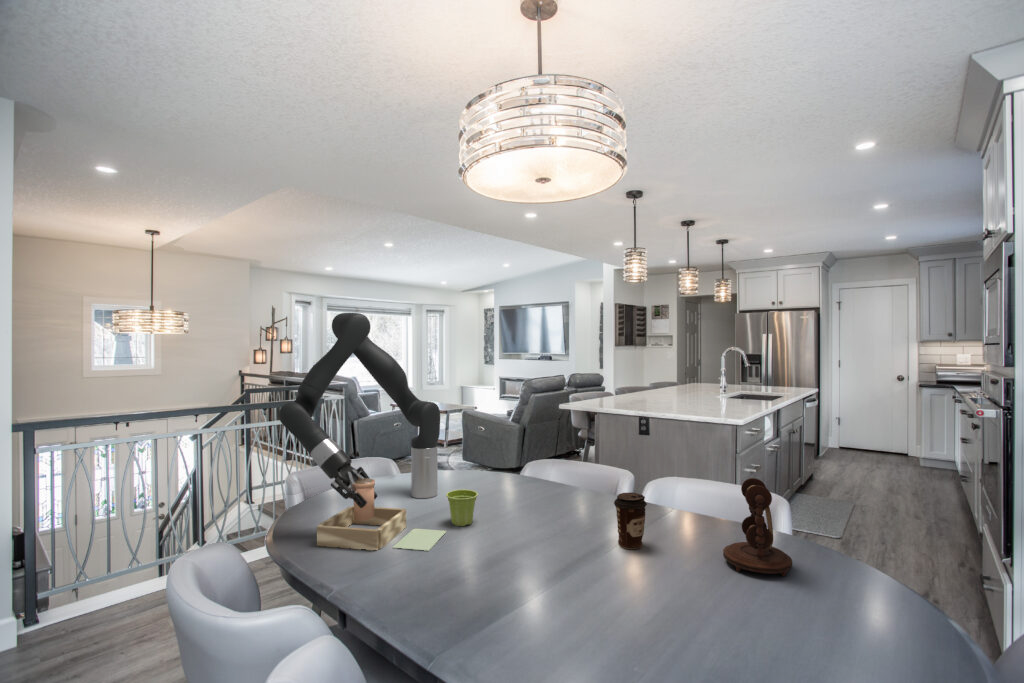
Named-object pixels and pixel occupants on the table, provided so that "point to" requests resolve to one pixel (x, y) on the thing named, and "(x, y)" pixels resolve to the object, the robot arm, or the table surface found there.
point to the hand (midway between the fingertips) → (369, 502)
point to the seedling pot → (367, 492)
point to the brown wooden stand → (757, 535)
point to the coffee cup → (630, 519)
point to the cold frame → (342, 536)
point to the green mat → (420, 539)
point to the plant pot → (462, 506)
